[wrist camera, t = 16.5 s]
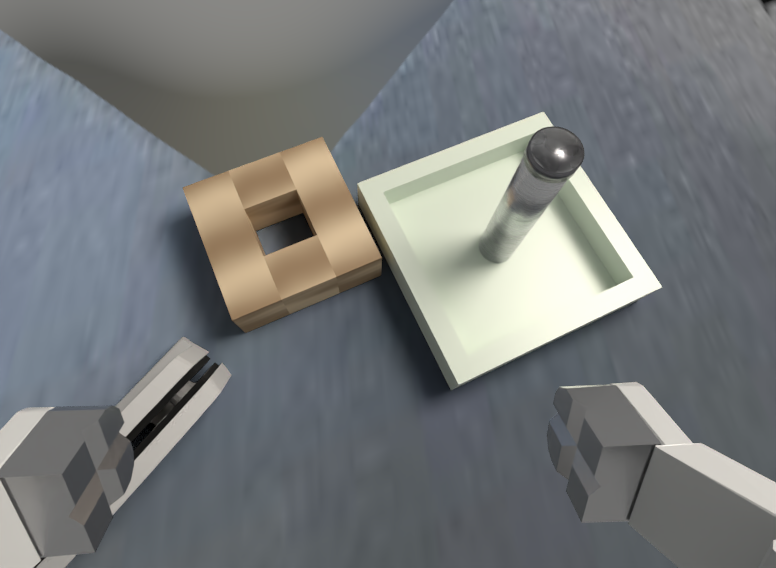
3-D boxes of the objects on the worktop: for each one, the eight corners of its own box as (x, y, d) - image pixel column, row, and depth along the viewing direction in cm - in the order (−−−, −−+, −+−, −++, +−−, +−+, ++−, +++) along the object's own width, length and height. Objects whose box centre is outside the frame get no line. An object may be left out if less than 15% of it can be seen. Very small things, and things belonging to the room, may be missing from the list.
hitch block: (199, 211, 42) (182, 187, 38) (326, 163, 44) (322, 136, 40) (245, 333, 38) (232, 320, 35) (380, 275, 40) (382, 257, 37)
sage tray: (358, 204, 43) (357, 183, 39) (530, 136, 46) (543, 111, 42) (450, 390, 38) (458, 384, 34) (638, 300, 41) (661, 286, 37)
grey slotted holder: (188, 333, 38) (171, 331, 29) (233, 371, 39) (232, 381, 30) (14, 513, 34) (-75, 583, 24) (69, 552, 34) (5, 635, 25)
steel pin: (470, 238, 41) (518, 137, 28) (503, 224, 41) (565, 119, 28) (488, 270, 40) (547, 182, 27) (521, 255, 40) (595, 162, 27)
